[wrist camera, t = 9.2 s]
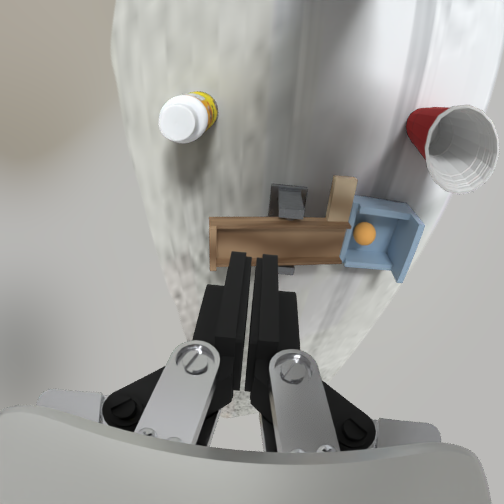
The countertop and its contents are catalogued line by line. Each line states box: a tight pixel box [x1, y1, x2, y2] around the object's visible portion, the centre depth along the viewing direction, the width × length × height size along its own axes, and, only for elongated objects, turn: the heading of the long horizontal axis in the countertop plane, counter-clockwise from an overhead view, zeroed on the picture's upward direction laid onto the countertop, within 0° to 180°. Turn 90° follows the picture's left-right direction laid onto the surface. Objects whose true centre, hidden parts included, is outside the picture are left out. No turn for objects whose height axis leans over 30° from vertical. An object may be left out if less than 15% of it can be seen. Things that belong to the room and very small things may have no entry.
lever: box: [209, 175, 358, 271], centre depth 37 cm, size 12×18×3 cm
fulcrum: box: [268, 184, 308, 275], centre depth 41 cm, size 10×5×7 cm, turn 176°
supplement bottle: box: [159, 91, 218, 143], centre depth 32 cm, size 6×6×10 cm
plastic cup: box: [406, 105, 499, 194], centre depth 30 cm, size 11×11×12 cm
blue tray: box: [339, 195, 425, 283], centre depth 41 cm, size 10×10×7 cm
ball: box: [353, 222, 376, 246], centre depth 42 cm, size 4×4×4 cm
